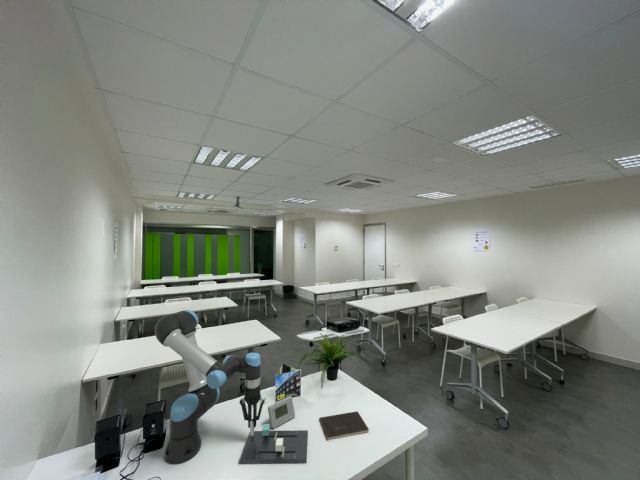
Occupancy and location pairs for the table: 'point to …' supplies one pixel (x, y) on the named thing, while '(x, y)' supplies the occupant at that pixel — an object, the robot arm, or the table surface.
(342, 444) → the table surface
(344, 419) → the hardcover book
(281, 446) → the fader near
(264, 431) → the fader far
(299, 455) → the plate
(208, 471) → the table surface
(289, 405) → the digital clock
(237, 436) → the table surface
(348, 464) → the table surface
